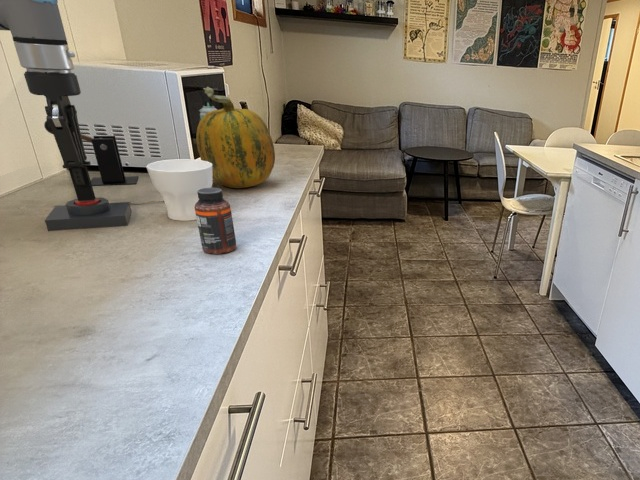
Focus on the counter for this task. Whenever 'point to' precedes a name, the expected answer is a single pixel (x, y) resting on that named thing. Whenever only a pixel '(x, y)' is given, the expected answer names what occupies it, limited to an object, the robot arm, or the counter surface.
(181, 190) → the cup
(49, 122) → the robot arm
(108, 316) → the counter surface
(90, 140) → the switch lever
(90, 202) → the push button
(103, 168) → the lever bracket
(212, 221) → the supplement bottle
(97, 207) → the switch box
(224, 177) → the pumpkin
